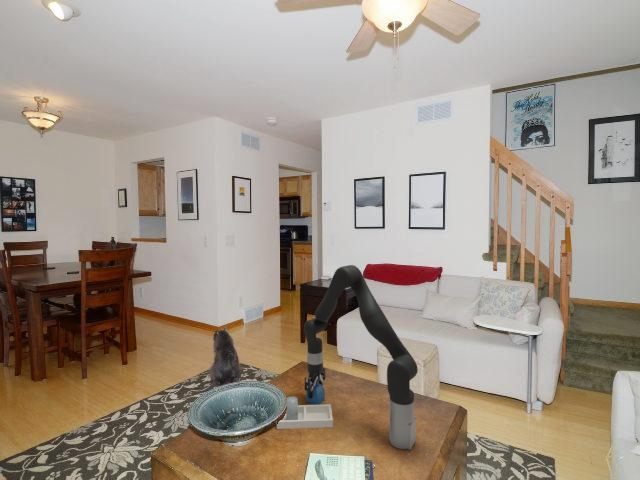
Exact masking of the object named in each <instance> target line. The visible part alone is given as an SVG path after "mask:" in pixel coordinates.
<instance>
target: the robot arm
mask: <svg viewBox="0 0 640 480" xmlns="http://www.w3.org/2000/svg"><path fill="white" fill-rule="evenodd" d="M348 288H351V290H352V291H353V293H354V295H355V297H356V299H357V302H358V313H359V315H360V316H359V317H360V319H361V322H362V323H363V325H364V328H365V329H366V331H367V332H368V333H369V334H370V335H371V336H372V337H373V338H374V339H375V340H377V342H379V343H380V344H381V345H383V347H384V348H385V349H386V350H387V352H388V353H389V355H390V357H391V358H392V360H391V361H390V362H389V363H388V365H387V369H386V385H387V392H388V394H389V422H388V423H389V424H388V425H389V426H388V427H389V432H388V433H389V435H388V436H389V437H388V439H389V443H390V444H391V445H392V446H393V447H394V448H396V449H399V450H409V451H412V450H413V449H412V448H413V447H414V445H415V443H416V431H417V430H416V429H417V426H416V424H417V421H416V420H417V419H416V417H415V393H414V391H413V390H412V389H410V388H411V387H410V385H411V384H410V381H411V380H413V378H415V377H416V376H417V374H418V364H417V362H416V361H415V359H414V357H413V356H412V354H411V352H409V350H408V349H407V347H406V346H405V345H404V344H403V343H402V341H401V340H400V338H399V336H398V335H397V333H396V331H395V330H394V328H393V327H392V325H391V323H390V322H389V320H388V318H387V317H386V315H385V313H384V311H383V310H382V309H381V307H380V305H379V304H378V302H377V300H376V298H375V297H374V296H373V295H374V294H373V293H372V291H371V290H370V288H369V286H368V283H367V281H366V280H365V278H364V275H363V274H362V271H361V270H360V269H359V268H358V266H356V265H353V264H349V265H344V266H340V267H338V268H337V269H336V270H335V271H334V273H333V276H332V278H331V280H330V283H329V286H328V288H327V291H326V292H325V295H324V297H323V299H321V302H320V303H319V305H318V307H316V310H315V312H314V316H315V318H311V319H309V320H306V321H305V323H304V325H303V332H304V336H305V340H306V343H307V353H306V370H307V372H308V377H307V376H306V377H304V391H305V392H306V391H308V398H310V399H312V398H313V391H312V390H313V387H314V386H315V384H316V381H317V379H318V378H319V379H318V380H319V384H321V385H322V386H323V387H324V385H323V383H324V381H326V368H325V367H324V353H323V340H322V339H321V337H317V334H320V333H322V332H324V331H325V329H326V328H327V326H328V324H329V323H328V322H329V319H330V318H331V316H332V315H333V313H334V312H335V310H336V308H337V304H338V299H339V297H340V295H341V294H342V293H343V292H344V291H345V290H346V289H348ZM312 383H313V384H312ZM310 385H311V388H310Z"/></svg>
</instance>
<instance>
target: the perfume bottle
mask: <svg viewBox="0 0 640 480" xmlns="http://www.w3.org/2000/svg"><path fill="white" fill-rule="evenodd" d="M318 379H319V378H318ZM318 379H317V381H316V384H315V386H314V387H313V390H312V391H313V398H312V399H310V398H308V391H306V390H305V393H306V394H305V395H306V396H305V401H306V403H309V404H310V405H321V403H322V402H325V401H326V400H325V397H326V396H325V395H326V393H325V391H326V390H325V388H324V385H323V386H322V385H321V384H319V380H318ZM311 384H313V383H312V382H311ZM310 388H311V385H310Z"/></svg>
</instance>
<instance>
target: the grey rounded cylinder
mask: <svg viewBox="0 0 640 480" xmlns="http://www.w3.org/2000/svg"><path fill="white" fill-rule="evenodd" d="M286 399H287V410H286V420H298V405H299V403H298V398H297V397H296V396H294V395H293V396H288V397H287V398H285V400H286Z"/></svg>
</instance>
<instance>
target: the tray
mask: <svg viewBox="0 0 640 480" xmlns="http://www.w3.org/2000/svg"><path fill="white" fill-rule="evenodd" d="M318 428H319V429H320V428H321V429H323V428H334V419H333V412H332V404H331V403H329V404H318V405H314V404H303V405H302V404H298V420H286V414H285V416H284V418H283V419H282V420H280V421H279V422H278V424H277V423H276V430H293V429H294V430H295V429H318Z"/></svg>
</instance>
